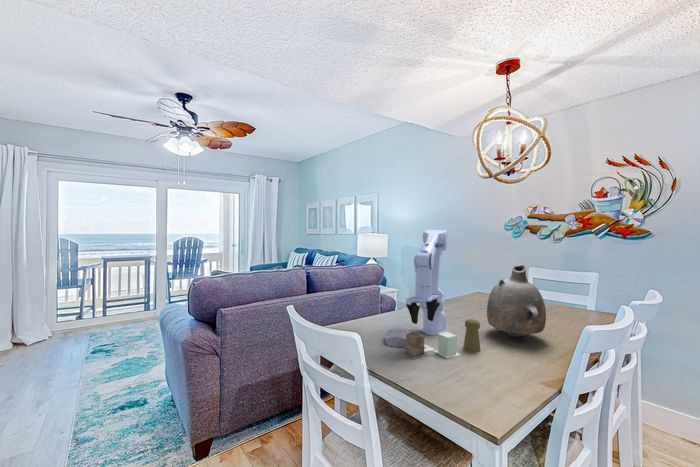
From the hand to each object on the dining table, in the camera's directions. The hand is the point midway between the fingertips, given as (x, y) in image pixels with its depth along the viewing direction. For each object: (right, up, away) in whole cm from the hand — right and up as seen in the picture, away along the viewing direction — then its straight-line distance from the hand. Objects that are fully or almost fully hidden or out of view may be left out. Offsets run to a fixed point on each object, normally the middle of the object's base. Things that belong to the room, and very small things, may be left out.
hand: (422, 321), depth 113 cm
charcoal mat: (-4, -10, -5) cm, 12 cm away
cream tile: (0, -10, 0) cm, 10 cm away
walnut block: (-4, -10, -5) cm, 12 cm away
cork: (+18, -10, 0) cm, 21 cm away
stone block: (-8, -10, +7) cm, 15 cm away
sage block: (+8, -10, -4) cm, 13 cm away
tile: (+8, -10, -4) cm, 13 cm away
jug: (+42, -11, +14) cm, 45 cm away
